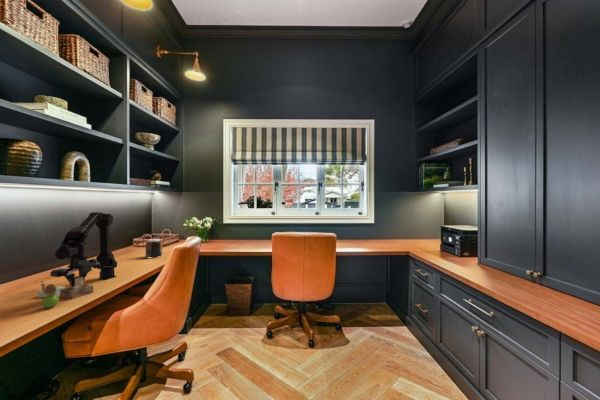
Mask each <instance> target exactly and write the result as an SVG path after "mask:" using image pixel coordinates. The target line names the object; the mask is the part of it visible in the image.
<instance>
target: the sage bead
mask: <svg viewBox="0 0 600 400" xmlns="http://www.w3.org/2000/svg"><path fill="white" fill-rule="evenodd" d="M55 286H56V288H57V289H56V291H55V292H54V293H56V294H55V295H56V296H60V290H61V289H64V288H67V287H66V285H65V286H63V285H61V286H57V285H55ZM46 296H47V295H45V294H44V293H43V291H42V289H41V290H38V291H37V298H45V297H46Z"/></svg>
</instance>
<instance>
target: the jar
mask: <svg viewBox="0 0 600 400" xmlns="http://www.w3.org/2000/svg"><path fill="white" fill-rule="evenodd" d="M161 255H162V256H163V241H161V240H160V238H150V239H147V241H146V242H145V258H146V257H158V256H161Z"/></svg>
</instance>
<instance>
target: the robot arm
mask: <svg viewBox="0 0 600 400" xmlns="http://www.w3.org/2000/svg"><path fill="white" fill-rule="evenodd" d="M113 221H114V216H113V214H111V213H104V212H99V211H96V212H93V211H92V212H90V213H89V214H88V216H87V217H86V218H85V219H84V220H83V221H82V222H81V223H80V224H79V225H78V226H76V227H74V228H72V229H70V230H68V231H67V233H66V234H65V236H64V239H63V240H62V242H61V244H60V246H59V248H57V249H56V251H55V252H54V255H55V258H57V259H58V260H66V259H67V260H68V261H69V263H68V264H69V265H67V268H56V269H52V270H51V272H50V277H54V278H60V277H64V278H65V279H66V280H67V282H68V283H69V285H70V287H71V286H72V287H74V277H76V273H74V272H76V271H77V272H78V276H82V277H83V283H84V282H85V280H86V277H87V275H88V274H89V272H91V271H93V269H97V270H100V271H99V277H98V279H100V280H109V279H111V278H116V277H117V275H115V269H116V268H117V267H118V262H117V260H116V259H115V256H114V253H113V252H112V251H111V236H110V235H111V233H110V232H111V231H110V230H111V229H110V228H111V227H112V224H113V223H114V222H113ZM94 226H96V227H97V229H98V231H99V235H98V236H99V254H98V255H97V256H96V258H92V259H91V258H90V259H87V256H86V255H85V245H87V242H86V240H87V238H88V237H89V235H90V234H89V232H90V230H91V229H92V228H94Z"/></svg>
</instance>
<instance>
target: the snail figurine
mask: <svg viewBox="0 0 600 400" xmlns="http://www.w3.org/2000/svg"><path fill="white" fill-rule="evenodd" d="M40 286H41V290H42V291H43V293H44V294H45V295H47V296H46V297H43V299H42V300H41V306H42V307H43V308H46V309H51V308H54V307H56V306H57V305H58V303H59V301H60V297H59V295H57V296H56V295H55V294H56V293H54V292H55V291H56V289H57V288H56V286H57V285H56V284H53V283H50V284H47V285H46V283H45V282H44V280H41V281H40Z"/></svg>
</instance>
